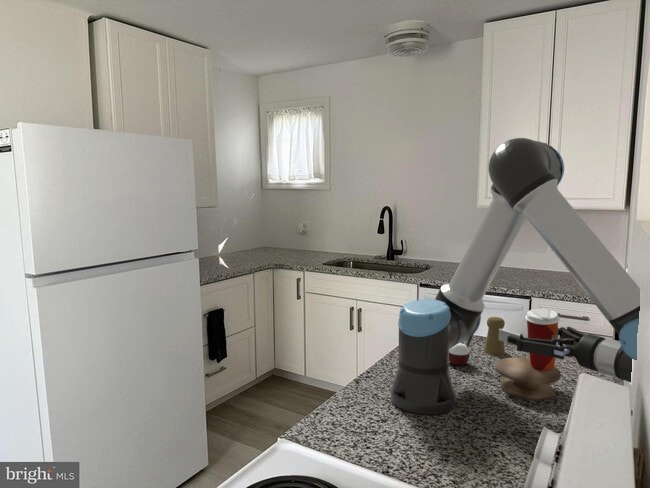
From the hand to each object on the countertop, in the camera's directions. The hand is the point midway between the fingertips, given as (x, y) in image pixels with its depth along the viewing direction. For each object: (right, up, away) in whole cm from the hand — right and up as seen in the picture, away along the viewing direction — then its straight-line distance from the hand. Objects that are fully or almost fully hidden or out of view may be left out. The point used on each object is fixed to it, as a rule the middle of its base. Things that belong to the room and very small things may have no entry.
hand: (517, 330), depth 117 cm
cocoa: (-10, -13, +16) cm, 23 cm away
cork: (+4, -12, +26) cm, 29 cm away
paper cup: (+6, -9, -1) cm, 11 cm away
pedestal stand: (+2, -15, -1) cm, 15 cm away
